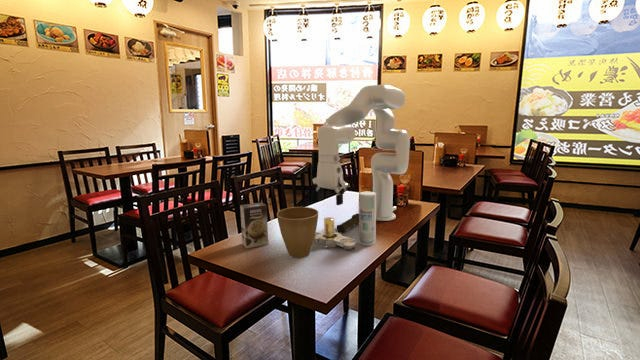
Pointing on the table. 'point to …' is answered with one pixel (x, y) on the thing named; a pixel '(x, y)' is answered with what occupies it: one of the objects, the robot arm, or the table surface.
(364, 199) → the spray can
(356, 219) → the brown wooden stick
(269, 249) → the table surface
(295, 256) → the plant pot
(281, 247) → the table surface
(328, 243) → the two-arm fidget spinner
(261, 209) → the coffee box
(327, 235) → the brass pin
